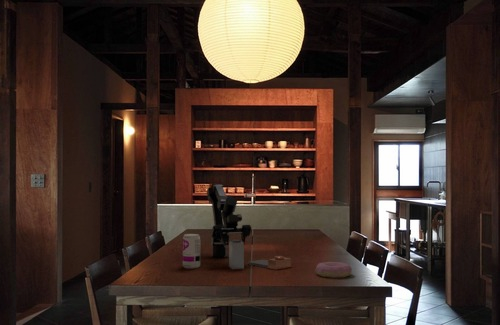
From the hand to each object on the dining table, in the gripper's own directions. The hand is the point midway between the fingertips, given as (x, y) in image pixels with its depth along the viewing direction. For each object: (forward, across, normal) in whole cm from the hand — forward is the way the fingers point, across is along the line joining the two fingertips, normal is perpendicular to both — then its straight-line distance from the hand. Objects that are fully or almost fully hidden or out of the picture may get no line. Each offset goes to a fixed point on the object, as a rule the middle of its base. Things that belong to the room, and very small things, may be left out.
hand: (234, 244), depth 236 cm
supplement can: (+4, -19, +11) cm, 23 cm away
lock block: (+9, 0, +5) cm, 11 cm away
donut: (+30, +36, -14) cm, 49 cm away
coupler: (+9, +16, +6) cm, 19 cm away
